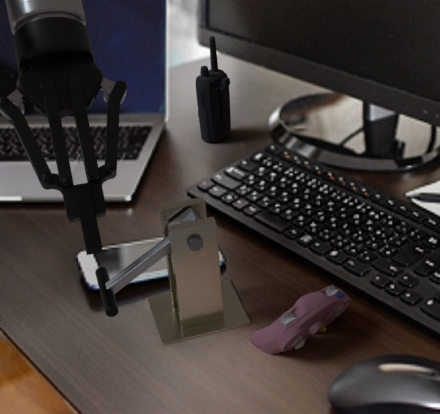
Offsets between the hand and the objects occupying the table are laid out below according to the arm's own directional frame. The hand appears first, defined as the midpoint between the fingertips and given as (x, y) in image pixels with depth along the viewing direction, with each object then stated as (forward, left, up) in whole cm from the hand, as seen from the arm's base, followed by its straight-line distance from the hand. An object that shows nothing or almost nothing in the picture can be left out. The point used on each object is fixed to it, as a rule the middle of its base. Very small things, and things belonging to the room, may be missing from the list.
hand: (94, 250), depth 81 cm
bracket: (+9, -2, -9) cm, 13 cm away
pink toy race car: (+18, -9, -9) cm, 22 cm away
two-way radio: (+22, +38, -9) cm, 45 cm away
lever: (+6, -2, -2) cm, 6 cm away
